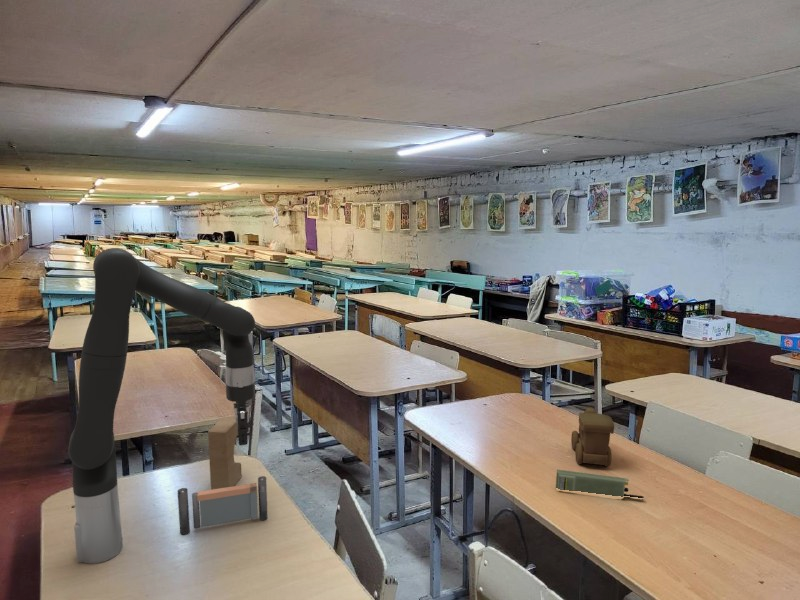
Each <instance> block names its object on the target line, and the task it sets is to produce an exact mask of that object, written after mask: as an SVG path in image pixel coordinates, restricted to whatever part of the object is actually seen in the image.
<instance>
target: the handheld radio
mask: <svg viewBox="0 0 800 600" xmlns="http://www.w3.org/2000/svg"><path fill="white" fill-rule="evenodd" d="M555 477H556V478H555V489H556V488H558V489H560V490H569V491H581V492H588V493H596V494H605V495H612V496H621V497H623V496H630V497H638V498H644V497H645V496H643V495H636V494H629V493H628V492H629V488H628V487H625V486H629V481H630V480H629V478H625V477H620V476H619V477H618V476H612V475H606V474H605V475H604V474H597V473H587V472H581V471H573V470H572V471H571V470H564V469H556V476H555ZM627 493H628V494H627ZM644 499H645V498H644Z"/></svg>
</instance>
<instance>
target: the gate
mask: <svg viewBox="0 0 800 600" xmlns="http://www.w3.org/2000/svg"><path fill="white" fill-rule="evenodd" d="M191 499H192V504H191V505H192V518H193V521H192V522H193V529H196V530H197V529H200V528H201V529H202V528H206V527H211V526H212V527H213V526H219V525H223V524H224V525H225V524H229V523H235V522H241V521H245V520H246V521H247V520H256V519H257V520H258V519H259V503H258V483H257V482H253V483H252V482H251V483H248V484H241V485H235V486H232V487H226V488H219V489H213V490H211V489H207V490H200V491H197V492H193V493H192V494H191Z"/></svg>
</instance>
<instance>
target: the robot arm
mask: <svg viewBox="0 0 800 600" xmlns="http://www.w3.org/2000/svg"><path fill="white" fill-rule="evenodd" d="M92 269H93V273H94V301H93V302H94V303H93V311H92V313H91V318H90V320H89V323H88V326H87V329H86V332H85V336H84V340H83V344H82V348H81V349H82V350H81V355H80V362H79V373H78V374H79V376H78V408H77V409H78V410H77V416H76V421H75V426H74V429H73V431H72V432H71V434H70V437H69V442H68V446H67V447H68V449H67V453H68V457H69V459H70V461H71V464H72V466H71V467H72V491H73V500H74V501H73V502H74V510H75V520H76V521H75V524H74V527H73V529H74V530H73V531H74V539H75V548H76V549H75V550H76V561H77V564H80V563H86V564H89V565H90V564H92V565H93V564H99V563H100V564H101V563H104V562H106V561H108V560H111V559H113V558H114V557H116V556H117V555H118V554H119V553H121V551H122V550H123V546H124V545H123V534H122V532H123V531H122V521H121V519H122V518H121V510H120V499H119V497H120V496H119V487H118V485H119V484H118V483H119V482H118V466H117V457H116V456H117V455H116V443H115V442H116V441H115V434H114V419H115V412H116V411H115V410H116V405H117V402H118V398H119V395H120V392H121V387H122V384H123V378H124V373H125V370H126V364H127V356H128V347H129V337H130V335H129V334H130V313H131V307H132V303H133V300H134V294H135V292H139V293H141V294H145V295H146V296H149V297H151V298H153V299H156V300H157V301H160V302H161V303H163V304H165V305H167V306H168V307H171V308H172V309H175V310H177V311H178V312H181V313H183V314H185V315H187V316H189V317H192V318H194V319H198V320H199V321H202V322H204V323H209V324H211V325H213V326H215V327H217V328H218V329H220V330H221V331H222V335H223V341H224V347H225V396H226V400H228V401H229V402H232V403H233V402H234V403H233V413H234V417H235V421H236V424H237V431H238V435H237V437H238V445H239V446H245V445H247V444H248V432H249V426H248V425H249V424H248V423H249V421H250V418H249V416H250V415H249V412H250V405H249V404H250V403H249V401H251V400H253V399H254V398H255V397H256V378H255V376H256V374H255V373H256V371H255V367H254V350H253V346H252V343H251V341H250V336H249V335H250V334H251V333H252V332H253V331H254V330H255V327H256V321H255V317H254V315H253V314H252V313H251V312H249V311H247V310H246V309H244V308H243V307H240V306H235V305H232V304H231V303H227V302H226V301H223V300H221V299H220V298H218V296H216V295H213V294H211V293H209V292H207V291H204V290H202V289H200V288H198V287H195V286H193V285H191V284H189V283H185V282H183V281H180V280H178V279H175V278H173V277H171V276H169V275H166V274H164V273H162V272H159V271H158V270H155V269H154V268H151V267H150V266H148V265H147V264H145V263H143V262H142V261H140V260H139V259H137V258H136V257H135V256H134V255H133V254H131V252H129V251H127V250H125V249H123V248H119V247H110V248H106V249H103V250H102V251H100V252H99V253H98V254H97V255H96V256H95V258H94V260H93V265H92Z"/></svg>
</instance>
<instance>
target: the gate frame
mask: <svg viewBox="0 0 800 600" xmlns="http://www.w3.org/2000/svg"><path fill="white" fill-rule="evenodd" d="M267 486H268V485H267V477H266V476H263V475H262V476H258V477H257V496H258V519H259V521H260V522H265V521H267V520H268V491H267V490H268V488H267ZM188 495H189V493H188V488H187V487H181V488H178V489H177V504H178V522H179V523H178V524H179V534H180V535H181V536H187V535H189V534H190V533H191V527H190V526H191V525H190V514H189V513H190V509H189V496H188Z"/></svg>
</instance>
